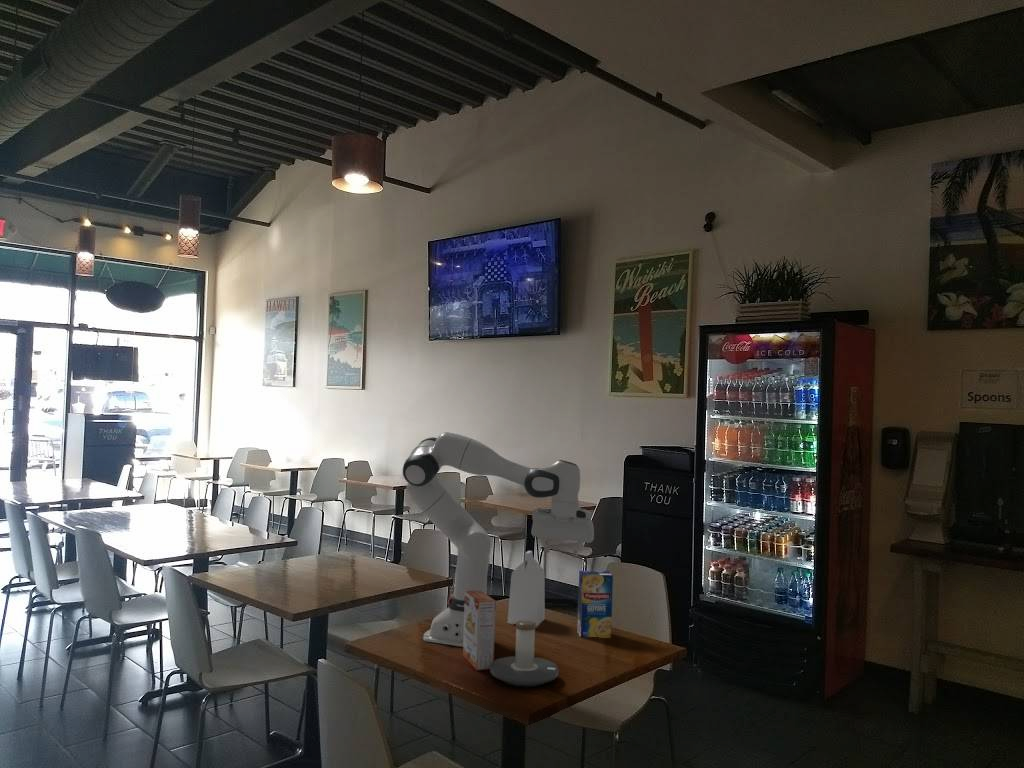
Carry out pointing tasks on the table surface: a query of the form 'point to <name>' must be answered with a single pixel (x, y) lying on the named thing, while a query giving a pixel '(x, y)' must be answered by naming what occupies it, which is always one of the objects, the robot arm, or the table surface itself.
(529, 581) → the milk
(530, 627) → the jar
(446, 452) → the robot arm
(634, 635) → the table surface
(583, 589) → the blue cardboard box
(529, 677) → the lazy susan
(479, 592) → the cracker box
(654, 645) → the table surface
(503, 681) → the lazy susan base
